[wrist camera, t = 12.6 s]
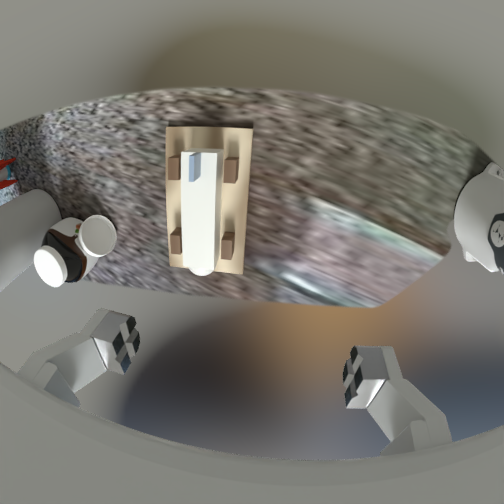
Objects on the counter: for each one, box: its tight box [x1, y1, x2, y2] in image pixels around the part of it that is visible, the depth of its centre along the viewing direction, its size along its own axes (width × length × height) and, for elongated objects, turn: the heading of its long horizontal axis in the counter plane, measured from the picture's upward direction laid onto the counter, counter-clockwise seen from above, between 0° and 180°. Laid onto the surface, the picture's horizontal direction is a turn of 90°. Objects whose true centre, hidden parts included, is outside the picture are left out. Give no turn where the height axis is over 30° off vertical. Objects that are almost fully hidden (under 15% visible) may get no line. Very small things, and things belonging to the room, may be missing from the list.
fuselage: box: [181, 148, 224, 276], centre depth 37 cm, size 4×18×8 cm, turn 176°
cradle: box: [166, 127, 253, 274], centre depth 38 cm, size 12×22×4 cm, turn 176°
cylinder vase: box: [0, 189, 62, 292], centre depth 33 cm, size 12×12×25 cm
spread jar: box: [34, 215, 117, 287], centre depth 39 cm, size 12×11×12 cm
